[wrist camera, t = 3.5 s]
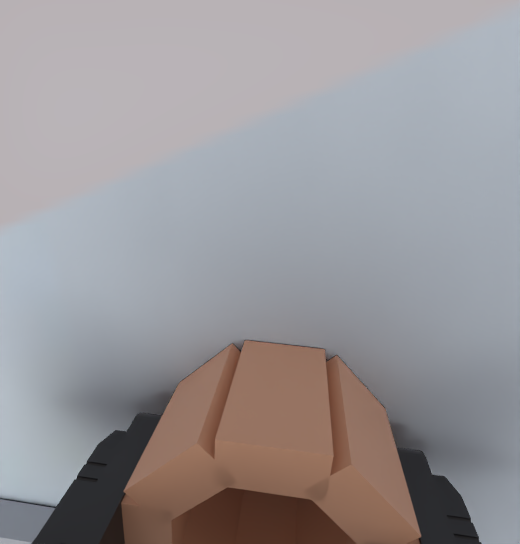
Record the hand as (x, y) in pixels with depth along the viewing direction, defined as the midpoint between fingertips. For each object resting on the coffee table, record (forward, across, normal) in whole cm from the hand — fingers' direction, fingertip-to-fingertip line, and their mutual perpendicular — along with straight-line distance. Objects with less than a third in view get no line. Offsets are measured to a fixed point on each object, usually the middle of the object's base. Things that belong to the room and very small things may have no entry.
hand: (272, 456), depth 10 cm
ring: (+1, 0, 0) cm, 1 cm away
